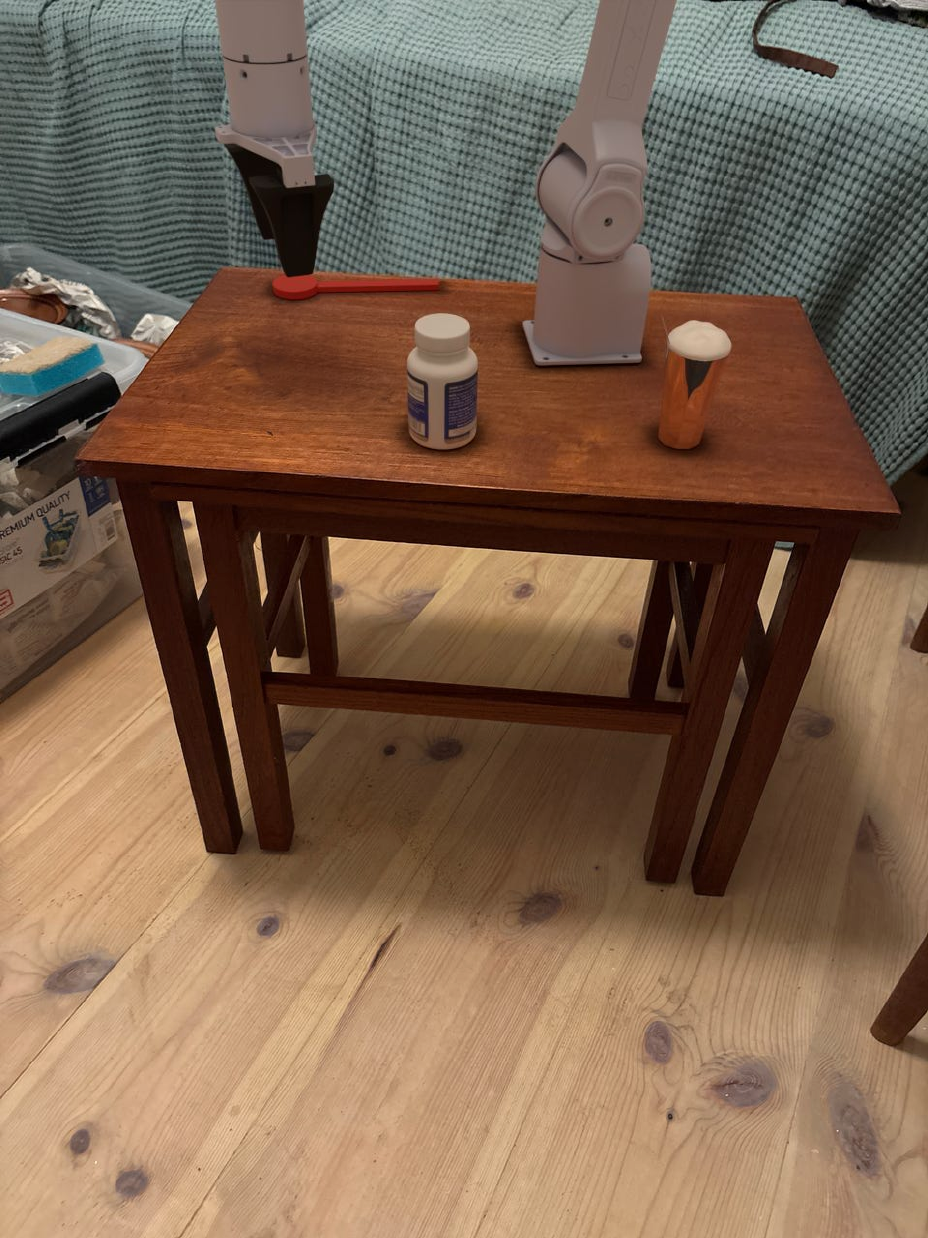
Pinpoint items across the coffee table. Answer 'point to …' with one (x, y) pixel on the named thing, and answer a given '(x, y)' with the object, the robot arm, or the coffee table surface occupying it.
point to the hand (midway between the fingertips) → (286, 254)
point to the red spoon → (344, 286)
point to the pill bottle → (442, 383)
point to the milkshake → (691, 381)
